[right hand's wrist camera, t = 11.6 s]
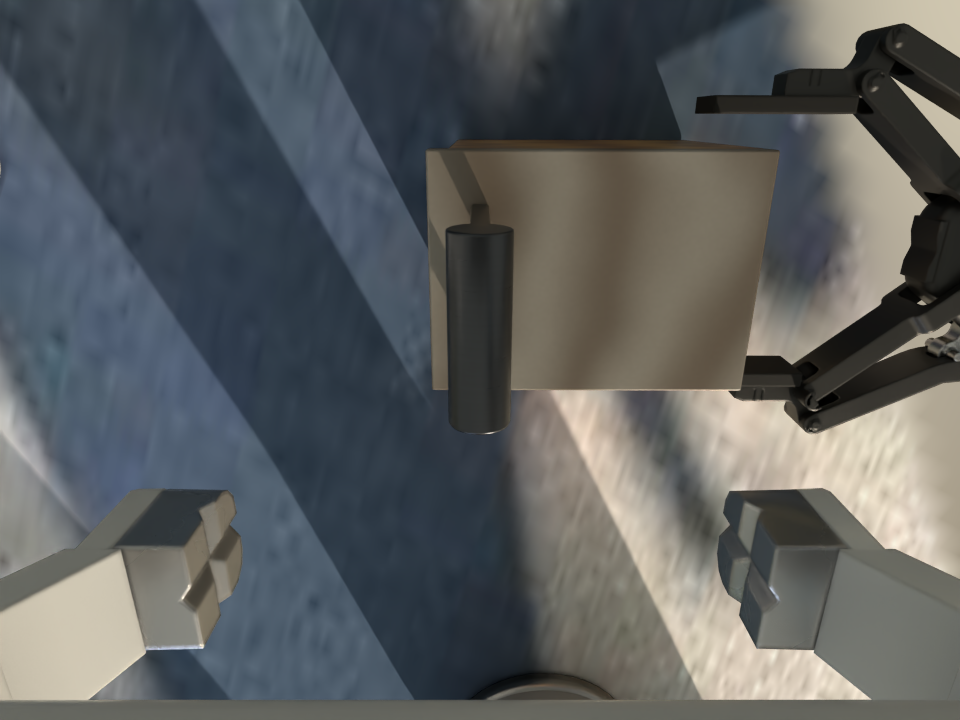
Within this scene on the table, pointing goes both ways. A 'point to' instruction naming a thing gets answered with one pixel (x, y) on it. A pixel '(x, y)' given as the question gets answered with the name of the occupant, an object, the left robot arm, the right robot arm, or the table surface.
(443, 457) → the table surface
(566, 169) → the lid
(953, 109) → the left robot arm
